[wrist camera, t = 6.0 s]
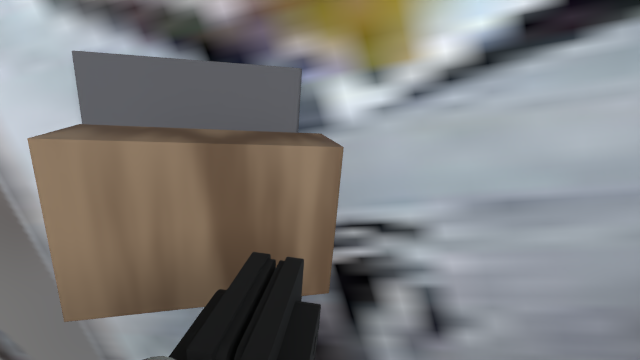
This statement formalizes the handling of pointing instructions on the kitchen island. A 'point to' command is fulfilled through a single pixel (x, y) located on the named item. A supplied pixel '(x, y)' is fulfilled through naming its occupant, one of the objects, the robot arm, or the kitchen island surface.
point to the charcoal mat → (186, 93)
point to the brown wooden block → (180, 212)
